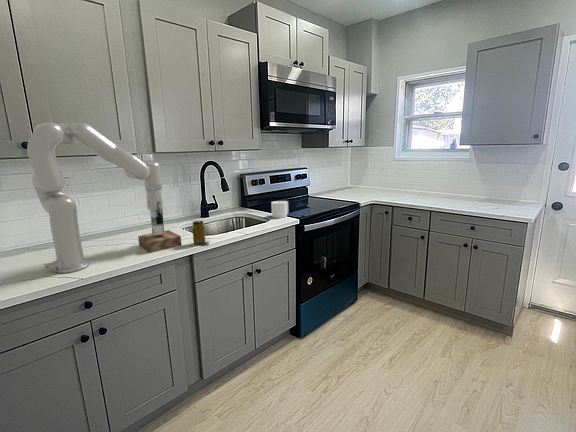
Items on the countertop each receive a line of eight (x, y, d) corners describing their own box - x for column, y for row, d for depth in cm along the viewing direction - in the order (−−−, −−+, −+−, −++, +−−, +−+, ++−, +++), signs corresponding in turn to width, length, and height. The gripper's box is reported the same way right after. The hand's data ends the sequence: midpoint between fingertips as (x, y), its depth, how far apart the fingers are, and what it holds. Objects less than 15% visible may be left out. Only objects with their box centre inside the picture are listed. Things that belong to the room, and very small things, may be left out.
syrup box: (164, 232, 168) (161, 204, 164) (164, 234, 162) (161, 206, 159) (152, 233, 166) (149, 205, 162) (152, 236, 160) (149, 207, 157)
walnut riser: (149, 252, 155) (148, 243, 153) (139, 245, 166) (138, 236, 165) (181, 245, 165) (180, 236, 164) (169, 238, 176) (168, 230, 175)
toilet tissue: (269, 217, 221) (269, 203, 219) (275, 213, 233) (274, 200, 230) (284, 218, 218) (283, 204, 216) (289, 214, 229) (289, 200, 227)
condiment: (194, 241, 171) (192, 220, 168) (210, 241, 171) (208, 219, 169) (191, 246, 164) (189, 223, 161) (208, 245, 164) (206, 222, 162)
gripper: (140, 186, 163) (144, 220, 167) (151, 190, 150) (155, 227, 154) (155, 185, 167) (158, 218, 171) (167, 188, 155) (171, 224, 159)
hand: (157, 222), depth 163 cm, fingers closed on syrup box, 7 cm apart
